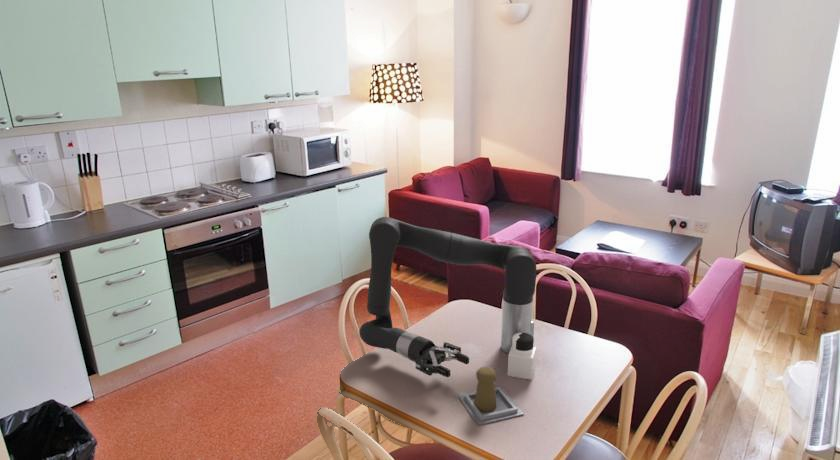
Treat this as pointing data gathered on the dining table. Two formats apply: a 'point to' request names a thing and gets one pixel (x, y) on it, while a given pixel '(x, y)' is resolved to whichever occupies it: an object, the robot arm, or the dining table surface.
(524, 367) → the medicine bottle
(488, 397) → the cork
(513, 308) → the robot arm
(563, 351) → the dining table surface
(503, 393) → the grey flat square tray
